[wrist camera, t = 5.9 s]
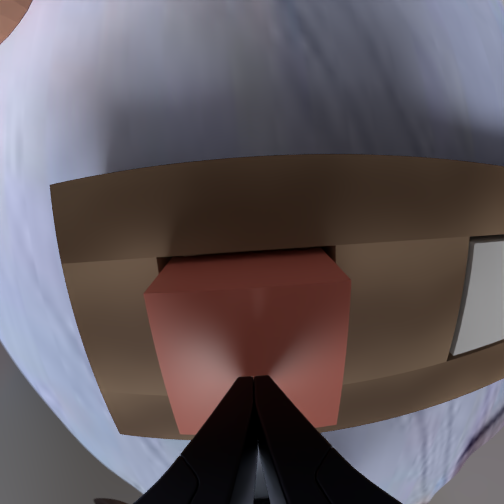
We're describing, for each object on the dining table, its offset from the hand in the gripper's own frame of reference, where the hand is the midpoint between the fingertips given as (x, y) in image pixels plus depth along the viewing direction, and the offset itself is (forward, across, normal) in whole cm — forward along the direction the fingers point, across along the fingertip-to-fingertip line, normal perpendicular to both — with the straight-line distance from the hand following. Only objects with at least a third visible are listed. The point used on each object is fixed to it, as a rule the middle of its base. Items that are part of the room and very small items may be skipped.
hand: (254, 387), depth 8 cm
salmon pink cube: (+4, 0, 0) cm, 4 cm away
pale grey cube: (+7, -12, 0) cm, 14 cm away
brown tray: (+8, -6, 0) cm, 10 cm away
